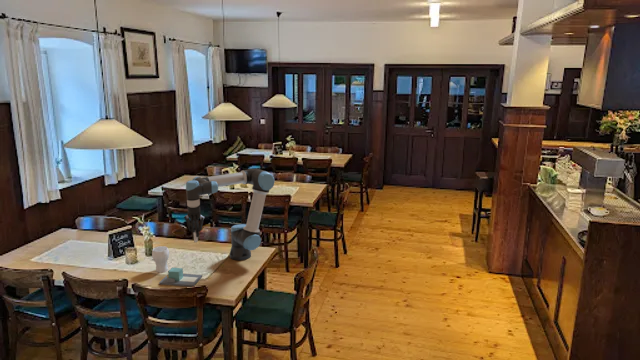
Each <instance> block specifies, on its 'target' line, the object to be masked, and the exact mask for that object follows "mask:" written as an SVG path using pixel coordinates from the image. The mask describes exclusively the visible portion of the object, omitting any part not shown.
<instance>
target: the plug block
mask: <svg viewBox="0 0 640 360" xmlns="http://www.w3.org/2000/svg"><path fill="white" fill-rule="evenodd" d="M183 269H184V268H182V267H171V268H170V269H168V270H167V271H168V273H167V275H168V276H169V278H175V281H180V280H181V279H182V278H183V274H184V270H183Z"/></svg>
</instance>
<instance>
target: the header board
mask: <svg viewBox="0 0 640 360" xmlns="http://www.w3.org/2000/svg"><path fill="white" fill-rule="evenodd" d="M202 277H203V274H194V273H193V274H192V273H183V278H182V279H181V280H180V281H175V278H169V276H168V274H166V275H165V277H163V278H162V279H161V280H160V281H159V282H158V284H159V285H162V286H163V285H164V286H177V287H178V286H179V287H188V288H193V287H194V286H195V285H197V283H198V282H199V281H200V280H201V279H202ZM192 286H193V287H192Z"/></svg>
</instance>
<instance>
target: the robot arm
mask: <svg viewBox="0 0 640 360" xmlns="http://www.w3.org/2000/svg"><path fill="white" fill-rule="evenodd" d="M238 184H239V185H240V184H242V185H252V188H251V190H252V191H253V194H252V197H251V203H250V205H249V206H250V207H249V211H248V215H247V221H246V223H241V224H239V223H238V224H234V225H232V226H231V227H230V239H231V240H230V241H231V248H230V250H229V258H230V259H231V260H234V261H244V260H247V259H250V258H251V257H252V251H255V250H256V249H258V248H259V247H260V246H261V242H262V239H261V236H260V233H261V230H260V229H259V228H260V222H261V219H262V214H263V211H264V206H265V200H266V197H267V195H268V194H269V193H270V190H271V189H272V188H274V185H275V178H274V175H273V174H272V173H270V172H268V171H266V170H262V169H259V168H250V169H243V170H241V171H240V172H234V173H227V174H219V175H212V176H205V177H200V176H195V177H193V178H192V180H191V179H190V180H188V181H186V183H185V192H186V204H187V205H186V206H187V207H186V208H187V215H184V217H183V218H184V219H185V221H186V225H187V228H188V231H189V232H191V235H192V238H193V243H197V242H199V237H200V232H201V231H202V230H203V225H204V219H206V217H205V215H204V216H203V215H202V213H201V200H200V198H201V197H200V196H205V195H210V194H211V195H212V194H215V193H218V191H219V187H225V186H234V185H238ZM199 220H200V221H199Z"/></svg>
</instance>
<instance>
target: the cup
mask: <svg viewBox="0 0 640 360" xmlns="http://www.w3.org/2000/svg"><path fill="white" fill-rule="evenodd" d="M151 257H152V260H153V261H154V262H155V272H156V273H160V274H161V273H165V272H167V271H169V267H168V260H169V257H170V251H169V248H168V246H166V245H165V246H164V245H162V246H161V245H160V246H156V247H154V248H153V249H152V252H151Z"/></svg>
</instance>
